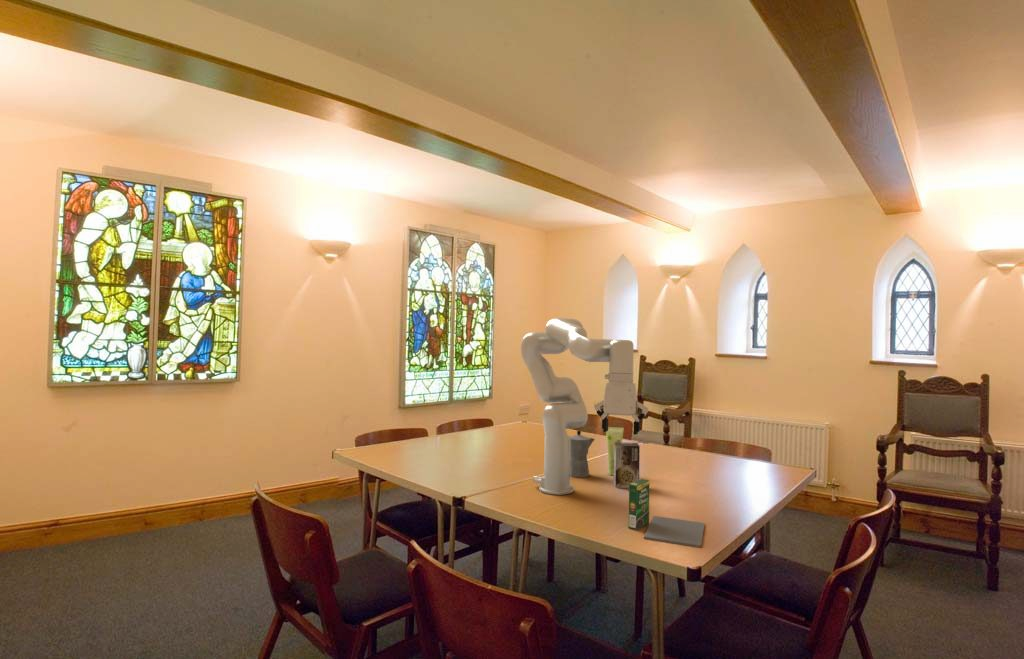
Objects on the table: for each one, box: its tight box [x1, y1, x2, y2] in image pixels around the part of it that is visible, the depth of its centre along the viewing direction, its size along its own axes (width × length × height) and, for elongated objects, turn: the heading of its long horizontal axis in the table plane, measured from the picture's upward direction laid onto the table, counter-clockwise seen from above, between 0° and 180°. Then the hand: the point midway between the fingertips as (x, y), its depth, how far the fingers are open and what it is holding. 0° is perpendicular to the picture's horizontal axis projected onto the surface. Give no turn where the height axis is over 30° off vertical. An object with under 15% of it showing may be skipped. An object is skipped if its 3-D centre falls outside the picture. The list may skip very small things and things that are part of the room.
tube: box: [605, 426, 625, 477], centre depth 225 cm, size 6×5×20 cm
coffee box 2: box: [628, 478, 650, 531], centre depth 162 cm, size 8×3×13 cm, turn 138°
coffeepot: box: [568, 430, 596, 479], centre depth 223 cm, size 15×9×18 cm, turn 94°
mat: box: [643, 515, 706, 548], centre depth 158 cm, size 15×20×1 cm
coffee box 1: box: [613, 441, 641, 489], centre depth 207 cm, size 9×6×16 cm
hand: (620, 432), depth 173 cm, fingers open, 9 cm apart
